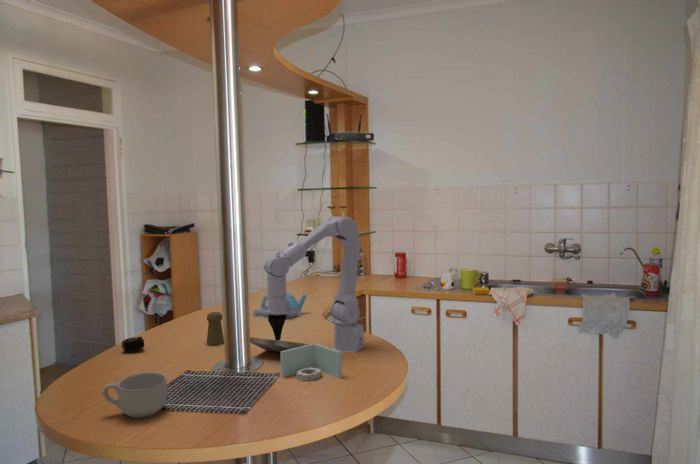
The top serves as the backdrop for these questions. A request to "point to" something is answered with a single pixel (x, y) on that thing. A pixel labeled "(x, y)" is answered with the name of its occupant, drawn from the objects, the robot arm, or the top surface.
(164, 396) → the teacup
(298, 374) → the l-shaped corner panel
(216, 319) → the brown tall rounded piece
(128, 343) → the tape measure
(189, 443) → the top surface
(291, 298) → the teapot
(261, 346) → the grey oak plank
